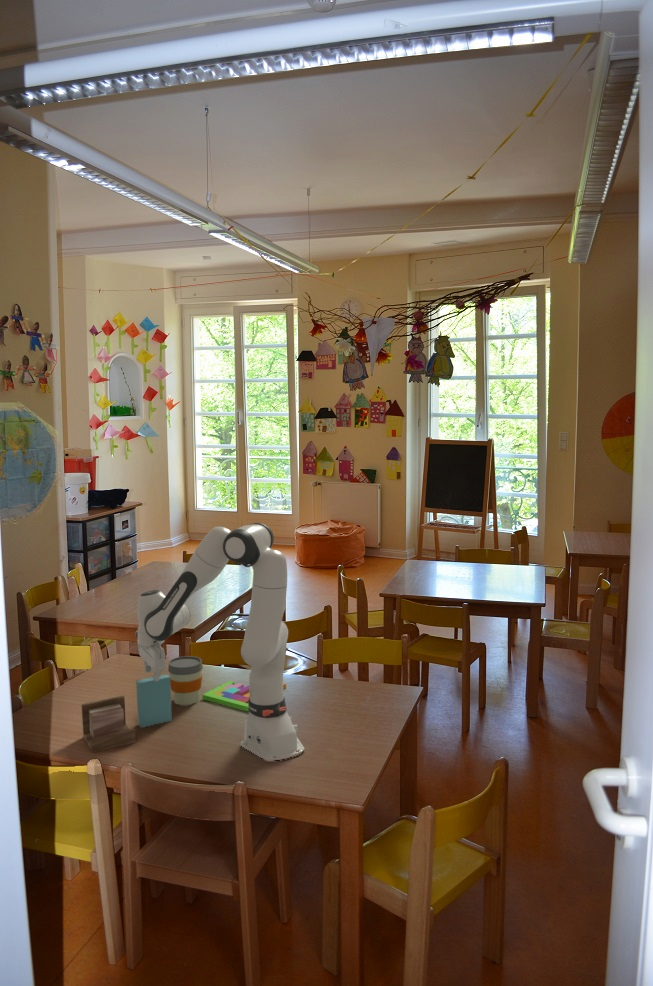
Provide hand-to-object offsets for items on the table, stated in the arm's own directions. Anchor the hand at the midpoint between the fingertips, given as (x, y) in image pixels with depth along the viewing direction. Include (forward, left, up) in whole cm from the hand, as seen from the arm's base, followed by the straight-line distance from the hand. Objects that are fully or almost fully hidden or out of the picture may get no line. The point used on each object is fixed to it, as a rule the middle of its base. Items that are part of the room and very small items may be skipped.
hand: (152, 675), depth 266 cm
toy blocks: (+7, -38, -18) cm, 43 cm away
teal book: (0, 0, -17) cm, 17 cm away
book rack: (-5, +17, -17) cm, 24 cm away
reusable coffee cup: (+13, -16, -17) cm, 27 cm away
